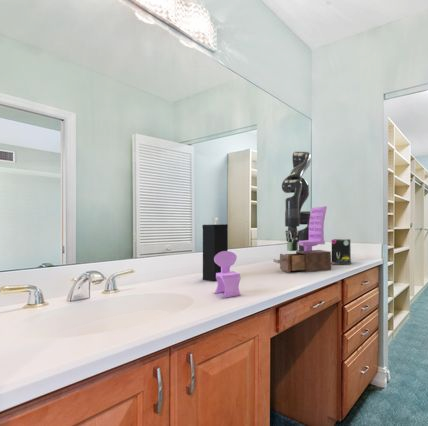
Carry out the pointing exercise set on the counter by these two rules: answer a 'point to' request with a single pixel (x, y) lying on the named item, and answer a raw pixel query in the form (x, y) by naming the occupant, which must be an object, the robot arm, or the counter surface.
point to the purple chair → (315, 228)
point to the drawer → (291, 262)
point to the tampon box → (341, 251)
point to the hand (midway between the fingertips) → (292, 250)
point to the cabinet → (316, 260)
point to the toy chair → (227, 274)
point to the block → (290, 246)
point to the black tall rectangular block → (213, 248)
